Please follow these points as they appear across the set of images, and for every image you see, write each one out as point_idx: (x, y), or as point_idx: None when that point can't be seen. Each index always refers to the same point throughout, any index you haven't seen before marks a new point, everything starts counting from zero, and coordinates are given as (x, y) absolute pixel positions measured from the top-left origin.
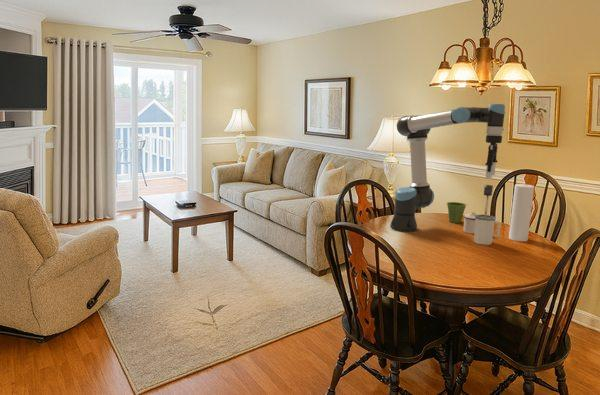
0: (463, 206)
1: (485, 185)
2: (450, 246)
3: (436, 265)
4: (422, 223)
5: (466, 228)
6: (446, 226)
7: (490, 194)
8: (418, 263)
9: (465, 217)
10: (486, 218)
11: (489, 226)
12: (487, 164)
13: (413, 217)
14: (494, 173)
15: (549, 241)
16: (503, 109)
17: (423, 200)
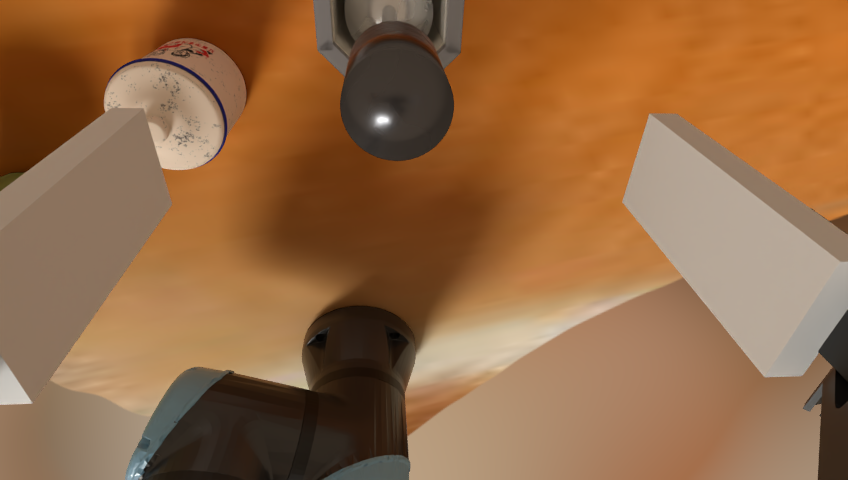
0: None
1: (426, 147)
2: (550, 136)
3: (837, 137)
4: (219, 312)
5: (237, 118)
6: (186, 218)
7: (428, 39)
8: (817, 198)
9: (211, 157)
10: (334, 9)
11: None
12: None
13: (367, 359)
14: (128, 122)
15: None
16: None
17: (286, 409)
